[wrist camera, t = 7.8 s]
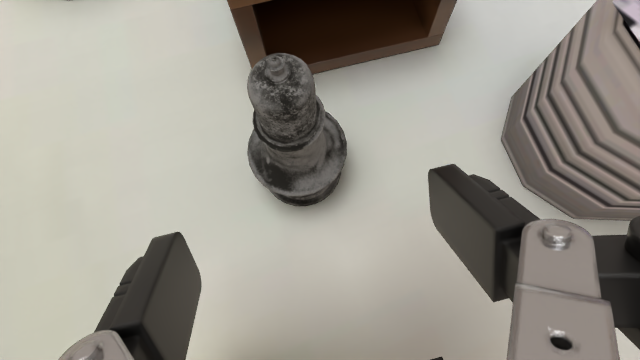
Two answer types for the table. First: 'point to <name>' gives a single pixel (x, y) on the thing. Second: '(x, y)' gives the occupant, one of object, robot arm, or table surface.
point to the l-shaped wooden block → (338, 28)
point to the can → (583, 118)
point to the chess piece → (292, 133)
